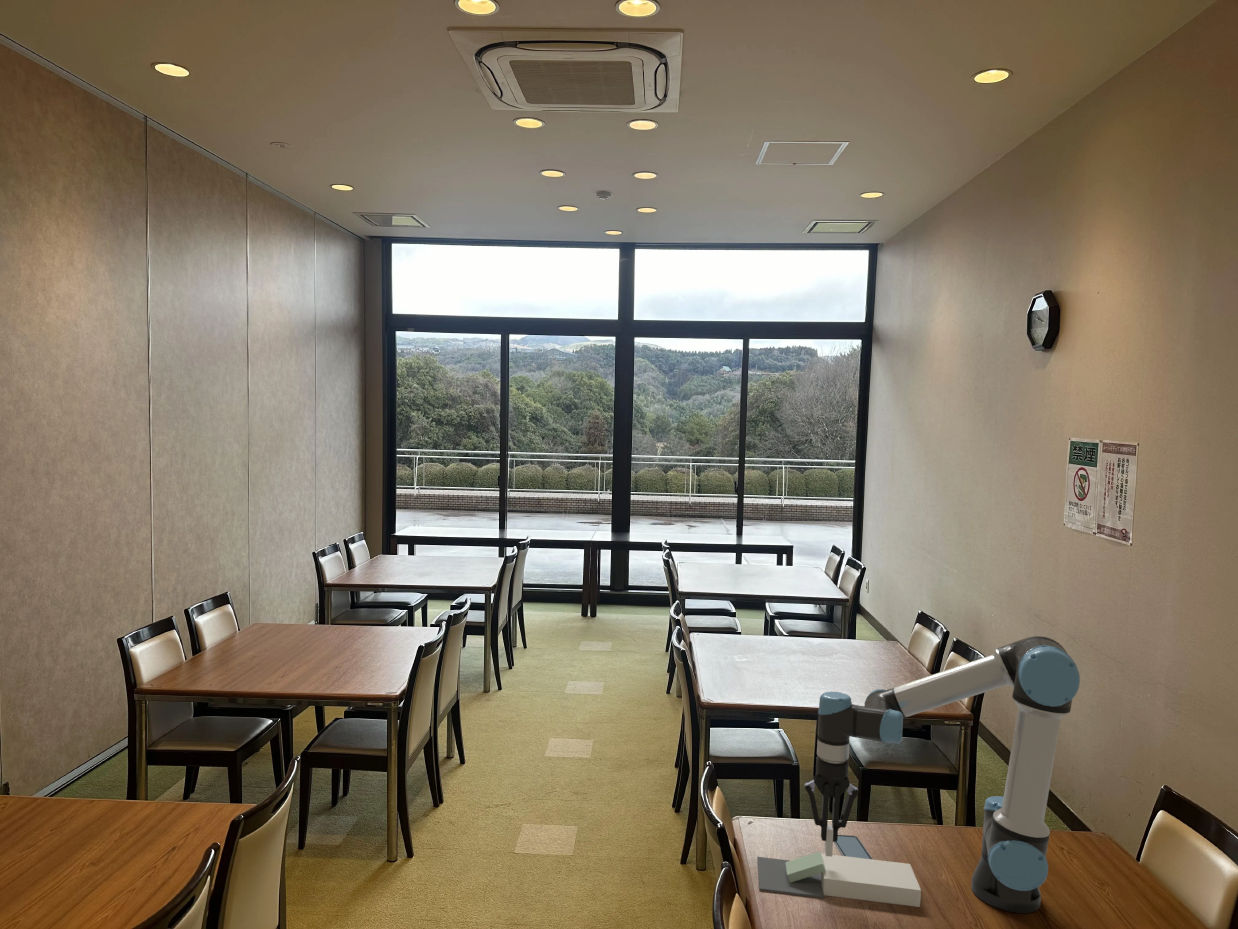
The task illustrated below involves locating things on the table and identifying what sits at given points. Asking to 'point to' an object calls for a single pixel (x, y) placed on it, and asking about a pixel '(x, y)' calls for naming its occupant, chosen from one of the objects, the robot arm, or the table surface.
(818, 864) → the tile
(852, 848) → the smartphone
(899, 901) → the board
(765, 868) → the mat
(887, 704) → the robot arm
